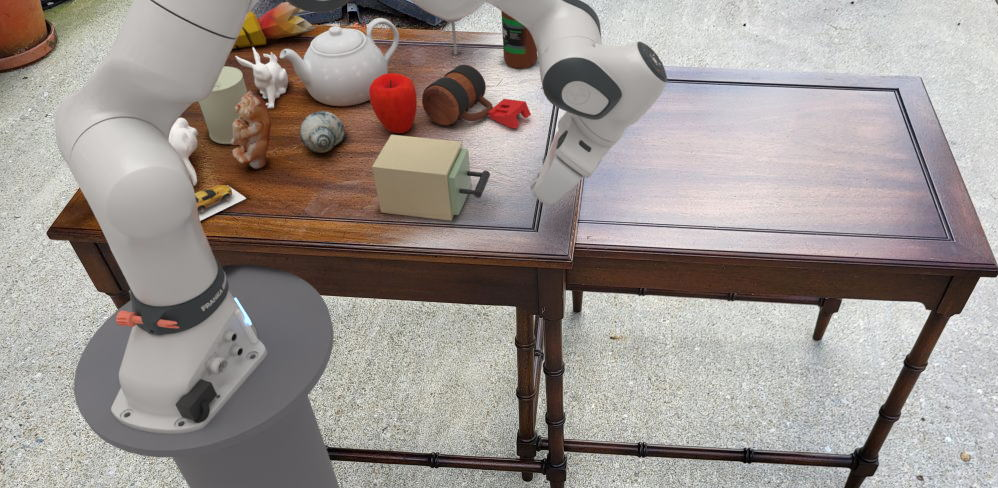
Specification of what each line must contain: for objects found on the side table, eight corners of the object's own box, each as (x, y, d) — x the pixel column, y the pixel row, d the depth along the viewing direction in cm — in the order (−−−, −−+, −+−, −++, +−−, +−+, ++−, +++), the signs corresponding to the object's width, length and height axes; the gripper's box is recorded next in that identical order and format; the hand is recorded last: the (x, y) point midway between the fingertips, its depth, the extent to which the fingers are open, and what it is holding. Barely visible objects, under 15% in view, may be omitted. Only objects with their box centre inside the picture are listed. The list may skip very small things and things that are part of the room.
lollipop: (448, 44, 182) (441, -21, 171) (477, 49, 180) (472, -16, 170) (434, 58, 177) (427, -7, 167) (464, 63, 175) (458, -3, 165)
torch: (210, 67, 177) (318, 30, 181) (193, 32, 173) (304, -5, 177) (211, 61, 184) (315, 26, 188) (195, 27, 180) (302, -8, 184)
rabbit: (190, 107, 145) (171, 142, 135) (221, 148, 150) (205, 184, 141) (133, 129, 147) (111, 165, 137) (166, 169, 152) (146, 206, 143)
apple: (370, 122, 158) (360, 73, 150) (412, 112, 160) (405, 63, 153) (383, 145, 152) (374, 95, 144) (427, 134, 154) (420, 84, 147)
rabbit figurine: (272, 109, 162) (260, 66, 155) (238, 106, 163) (224, 63, 156) (297, 80, 170) (287, 37, 164) (264, 76, 172) (252, 34, 165)
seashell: (350, 136, 157) (322, 170, 149) (315, 118, 156) (285, 151, 148) (357, 112, 153) (330, 145, 144) (322, 93, 152) (291, 126, 143)
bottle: (500, 56, 177) (494, -58, 160) (532, 51, 179) (529, -62, 162) (508, 71, 172) (502, -45, 155) (540, 67, 173) (538, -49, 156)
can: (208, 147, 152) (188, 91, 144) (211, 121, 158) (192, 67, 150) (258, 140, 153) (241, 85, 145) (259, 115, 160) (243, 61, 152)
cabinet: (466, 187, 142) (462, 141, 136) (451, 220, 135) (445, 174, 129) (398, 179, 144) (391, 134, 137) (380, 212, 137) (371, 166, 131)
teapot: (377, 114, 160) (365, 52, 151) (290, 106, 162) (274, 44, 153) (405, 69, 173) (397, 9, 164) (325, 62, 176) (312, 3, 167)
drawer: (493, 188, 140) (490, 151, 135) (481, 217, 134) (477, 180, 129) (409, 178, 143) (403, 142, 137) (393, 207, 137) (387, 170, 131)
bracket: (509, 115, 153) (514, 128, 155) (525, 101, 155) (531, 114, 157) (487, 112, 158) (493, 124, 159) (503, 98, 160) (509, 111, 161)
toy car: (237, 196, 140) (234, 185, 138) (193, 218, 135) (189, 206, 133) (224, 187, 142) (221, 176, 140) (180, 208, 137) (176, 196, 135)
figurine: (234, 167, 147) (210, 96, 137) (272, 151, 151) (251, 80, 141) (250, 182, 144) (226, 110, 134) (288, 165, 147) (268, 94, 137)
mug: (478, 116, 150) (508, 90, 158) (427, 77, 150) (460, 53, 158) (462, 146, 157) (492, 119, 165) (414, 109, 157) (446, 84, 165)
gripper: (582, 89, 131) (533, 144, 139) (558, 152, 115) (505, 209, 123) (611, 113, 132) (561, 165, 141) (592, 178, 117) (537, 233, 125)
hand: (535, 186), depth 132 cm, fingers closed
